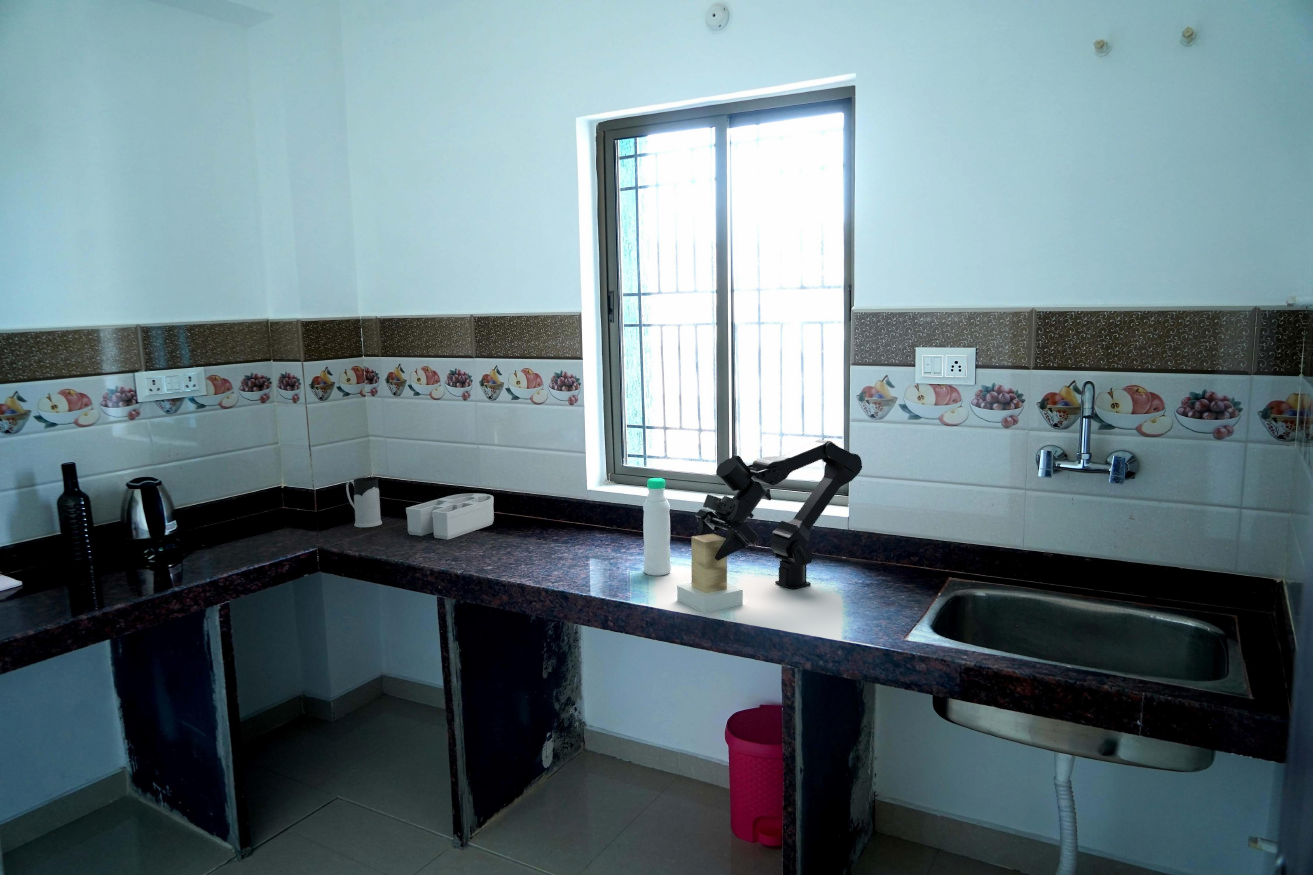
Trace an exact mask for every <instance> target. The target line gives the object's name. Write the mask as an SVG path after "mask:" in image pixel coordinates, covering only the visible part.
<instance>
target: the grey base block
mask: <svg viewBox="0 0 1313 875" xmlns="http://www.w3.org/2000/svg"><path fill="white" fill-rule="evenodd" d="M676 588H677V595H676V596H677V597H676V600H677V601H678V602H680V603H682V604H684V605H687V606H688V607H691V608H692V609H695V610H696V609H697V611H699V612H701V613H703V614H706V612H707V613H711V612H716V611H719V610H725V609H729V608H733V607H736V606H741V605H743V603H744V602H743V600H744V598H743V597H744V595H743V594H744V593H743V592H744V591H743V589H742V588H739V587H737V586H735V585H732V584H730V583H728V582H727V589H725V590H719V591H714V592H709V593H704V592H702V591H700V590H698V589H696V588H694V587H692V582H689V583H683V584H678V585H677V586H676ZM715 610H716V611H715ZM710 611H711V612H710Z"/></svg>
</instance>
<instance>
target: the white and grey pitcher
mask: <svg viewBox="0 0 1313 875" xmlns="http://www.w3.org/2000/svg"><path fill="white" fill-rule="evenodd" d="M349 483H351V484H352V485H353V489H354V490H353V492H354V494H353V501H354V502H353V501H352V499H351V496H350V491H349V485H350V484H349ZM345 487H346V488H345V489H346V490H345V491H346V495H347V498H348V501H349V503H350V505H351V506H352V507H353V509H354V518H355V520H354V527H357V528H371V527H377V526H380V525H381V526H382V524H383V521H382V519H381V505H380V504H381V501H380V489H379V479H378V477H374V476H368V477H367V476H366V477H358V478H354V479H353V480H348V481H347V482H346V484H345Z"/></svg>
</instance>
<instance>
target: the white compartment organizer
mask: <svg viewBox="0 0 1313 875" xmlns="http://www.w3.org/2000/svg"><path fill="white" fill-rule="evenodd" d="M494 499H495V498H494V496H493V495H491V494H487V493H479V492H477V493H470V492H469V493H459V494H453V495H447V496H445V497H441V498H437V499H434V500H429V501H426V502H423V503H420V504H416V505H412V506H409V507H405V512H406V517H407V521H406V522H407V532H408V535H412V536H421V537H423V536H427V535H428V534H432V533H433V537H434V538H435V539H441V540H447V541H448V540H451V539H453V538H457V537H459V536H463V535H465V534H468V533H471V532H474V531H476V530H477V531H478V530H480V529H483V528H486V527H489V526H491V525H493V523H494V519H495V515H494V503H495V502H494Z"/></svg>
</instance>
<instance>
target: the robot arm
mask: <svg viewBox="0 0 1313 875" xmlns="http://www.w3.org/2000/svg"><path fill="white" fill-rule="evenodd" d="M818 461H821V462H824V463H825V464H824V468H823V469H824V470H823V477H822V478H821V480H820V481H819V483H818V484H817V485H816V487H815V488H814V489H813V491H812V492H811V494H810V495H809V496H808V497H807V499H806V500H805V502H804V503H803V505H802V506H801V507H800V509H799V510H798V512H797V513H796V515H795V516H794V517H793V518H792V519H791V520H789V521H788V522H787V521H785V520H781V521H780V522H778V525H777V527H776V528H775V529H774V530H773V531H772V532H771V537H770V539H769V542H770V549H771V551H772V552H773V554H774V558H775V559H779V567H778V580H776V581H775V582H774V583H775V585H778V586H781V587H784V588H788V589H790V590H796V589H800V588H803V587H804V588H805V587H808V586H811V585H812V583H811V582H809V581H807V566H808V564H812V561H813V558H814V554H813V553H812V551H810V549H808V547H807V545H808V543H809V539H810V538H809V536H810V531H811V530H812V528H813V527H814V525H815V523H816V522H817V521H818V519H819V518H820V516H821V515H822V514H823V512H824V511H825V510H826V509H827V507H828V506H829V504H830V503H831V501H832V500H833V498H834V497H835V495H836V494H837V493H838V491H839V490H840V489H841V487H844V486H845V485H846V484H849V483H850V482H852V481H853V480H854V479H855V478H856V477H857V476H859V475H860V473H861V471H862V469H863V462H862V458H861V456H860V455H859V454H857V453H853V452H851V451H848V450H846V449H844V448H842V447H840V446H838V445H837V444H835V442H833V441H831V440H826V439H825V440H824V439H817V440H815V441H814V442H812V443H809V444H807V445H805V446H802V447H800V448H796V449H794V450H792V451H790V452H787V453H784V454H783V455H778V456H777V455H776V456H766V457H761V458H756V459H755V460H754V461H753V462H752V463H750V464H746V463H745V462H744V460H743V459H742V458H741V456H740V455H738V454H732V456H731V457H729V458H727V459H725V460H723V461H722V462H720V463H719V465H718V466H717V468H716V471H715V474H716V475H717V478H718V477H719V479H720V480H721V481H722V482H723V483H724V484H725V485H726V487H727V488H728V489H730V490H731V491H733V492H736V493H735V494H734V495H733V496H732V497H730V496H727V495H724V496H723V497H722V498H721V497H718V496H715V495H711V494H708V493H707V495H706V498H705V500H704V502H703V506H702V507H703V508H699V510H697V512H696V514H695V515H694V516H695V517H696V518H697V519H696V521H697V523H698V532H697V535H696V536H700V535H707V534H716V535H718V532H720V531H721V530H725V531H726V537H725V538H726V540H725V541H724V543H723V544H722V546H721V548H720V549H719V551H718V552H717V554H716V556H715V559H716V560H717V561H719V560H721V559H722V558H724V557H726V556H727V557H728V556H730V555H732V554H735V552H738V551H740V550H742V549H745V548H749V547H750V546H751V547H754V545H755V544H756V543H757V542H758V540H759V535H758V533H757V532H756V531H755V529H753V528H752V527H751V525H749V523H748V522H746V521H747V519H748V518H749V519H753V518H754V516H755V515H754V513H753V512H754V510H755V508H757V507H758V504H760V502H761V501H762V500H763V499H764V500H766V501H771V500H772V494H771V489H770V488H768V487H764V486H763V485H762V484H766V485H770V486H777V485H778V484H780V483H781V482H783V481H785V480H786V479H787V478H788V476H789V475H790V474H791V473H793V472H795V471H797V470H800V469H801V468H804V467H805V466H809V465H811V464H814V463H817V462H818ZM707 508H708V509H707ZM709 509H710V510H709ZM713 511H714V512H713Z"/></svg>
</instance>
